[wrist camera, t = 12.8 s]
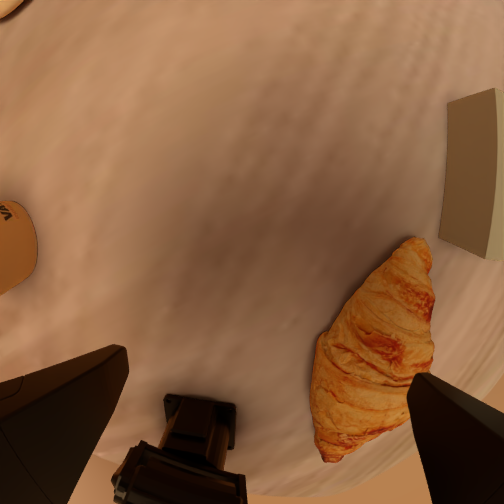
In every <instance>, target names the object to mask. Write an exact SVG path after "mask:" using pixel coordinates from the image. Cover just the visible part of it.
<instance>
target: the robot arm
mask: <svg viewBox="0 0 504 504" xmlns="http://www.w3.org/2000/svg"><path fill="white" fill-rule="evenodd" d="M128 374H129V364H128V356H127V350H126V348H125V347H124V346H120V345H116V344H112V345H109V346H107V347H104V348H101V349H98V350H96V351H93V352H90V353H87V354H85V355H82V356H79V357H76V358H73V359H70V360H68V361H65V362H62V363H59V364H56V365H53V366H50V367H47V368H44V369H42V370H39V371H36V372H33V373H30V374H27V375H25V376H20V377H17V378H14V379H11V380H8V381H4V382H1V383H0V504H67V503H68V501H69V499H70V497H71V495H72V493H73V491H74V488H75V486H76V484H77V482H78V480H79V478H80V476H81V474H82V472H83V470H84V468H85V466H86V464H87V462H88V460H89V459H90V457H91V455H92V453H93V451H94V449H95V447H96V445H97V443H98V441H99V439H100V437H101V435H102V433H103V432H104V430H105V428H106V426H107V424H108V422H109V420H110V418H111V416H112V414H113V412H114V410H115V408H116V405H117V403H118V400H119V397H120V395H121V392H122V390H123V387H124V385H125V382H126V380H127V377H128ZM168 399H169V400H168ZM406 399H407V404H408V409H409V414H410V419H411V424H412V429H413V434H414V438H415V441H416V445H417V448H418V451H419V455H420V458H421V462H422V465H423V469H424V473H425V476H426V480H427V484H428V488H429V492H430V496H431V500H432V504H504V413H502V412H500V411H498V410H496V409H495V408H493V407H491V406H489V405H487V404H485V403H483V402H482V401H480V400H478V399H476V398H474V397H472V396H471V395H469V394H467V393H465V392H463V391H461V390H459V389H458V388H456V387H454V386H452V385H450V384H449V383H447V382H445V381H443V380H441V379H439V378H438V377H436V376H434V375H432V374H430V373H428V372H419V373H416V374H415V376H414V378H413V380H412V382H411V385H410V387H409V389H408V392H407V396H406ZM163 401H164V408H165V414H166V420H167V426H166V429H165V431H164V433H163V436H162V438H161V441H160V443H159V446H158V448H157V447H154V446H152V445H149V444H147V442H145V441H143V440H141V441H140V443H139V445H138V446H135V447H130V450H129V452H128V454H127V456H126V458H125V459H124V461H123V463H122V464H121V465H120V467H119V468H118V469H117V471H116V472H115V473H114V474H113V476H112V479H111V482H112V484H113V486H114V488H115V489H114V494H115V496H114V502H115V503H118V504H248V503H247V491H246V478H245V475H242V474H234V473H230V472H227V471H223V470H224V464H225V459H226V453H227V450H233V449H234V445H235V426H236V406H235V405H233V404H228V403H220V402H212V401H205V400H198V399H192V398H186V397H180V396H174V395H168V394H167V395H165V397H164V399H163ZM230 409H232V410H230Z"/></svg>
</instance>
